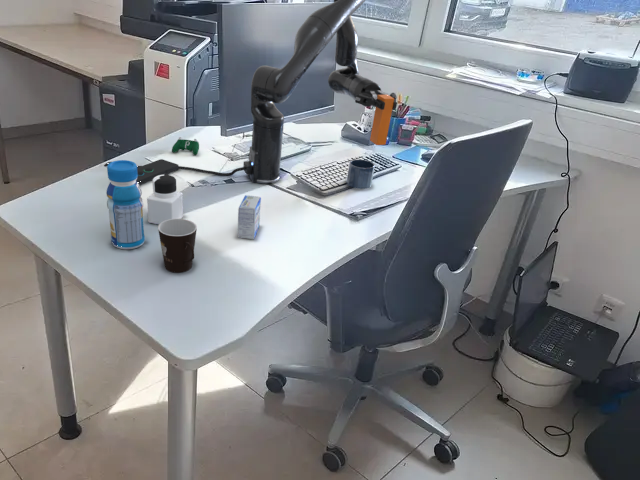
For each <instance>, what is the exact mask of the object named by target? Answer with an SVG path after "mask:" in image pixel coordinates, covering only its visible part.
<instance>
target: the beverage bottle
mask: <svg viewBox="0 0 640 480" xmlns="http://www.w3.org/2000/svg"><path fill="white" fill-rule="evenodd" d="M110 162H111V163H109V164H108V165H107V166H106V170H107V171H106V173H107V179H108V180H109V181H110V182H109V183H108V185H107V187H106V192H105V193H106V197H107V199H106V208H107V210H108V219H109V226H110V242H111V245H112V246H113V247H115V248H117V249H119V250H133V249H137V248H140V247H142V246H143V245H144V244H145V242H146V239H145V229H144V212H143V211H144V210H143V209H144V208H143V207H144V199H143V198H142V197H141V196H142V194H143V191H142V187H141V185H139V184H138V183H137V181H136V180H137V177H138V173H137V166H138V165H137V163H136V162H134V161H132V160H126V159H120V160H119V159H117V160H113V161H110ZM112 242H113V243H114V244H113V243H112ZM117 245H118V246H117ZM121 246H122V247H121Z"/></svg>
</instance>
